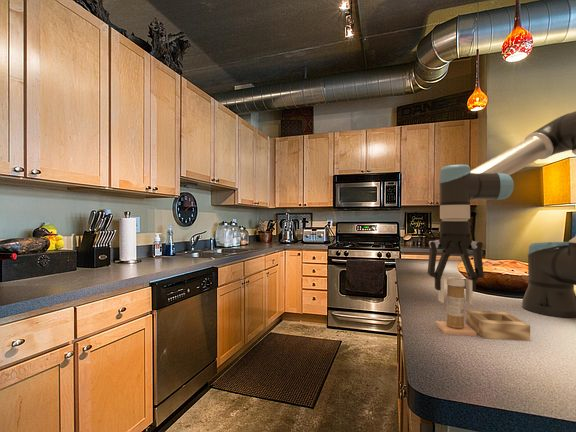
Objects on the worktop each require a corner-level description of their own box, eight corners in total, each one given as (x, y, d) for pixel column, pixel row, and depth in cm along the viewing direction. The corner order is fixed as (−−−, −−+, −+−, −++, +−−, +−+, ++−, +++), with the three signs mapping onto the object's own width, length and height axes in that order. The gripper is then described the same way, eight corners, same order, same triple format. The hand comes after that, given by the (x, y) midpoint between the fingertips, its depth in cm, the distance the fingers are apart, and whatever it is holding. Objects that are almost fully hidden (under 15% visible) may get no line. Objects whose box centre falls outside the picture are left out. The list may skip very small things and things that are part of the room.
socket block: (507, 325, 89) (507, 312, 89) (530, 340, 79) (530, 325, 79) (466, 323, 91) (466, 310, 91) (483, 338, 80) (483, 322, 80)
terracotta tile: (464, 325, 90) (464, 322, 90) (476, 335, 82) (476, 332, 82) (435, 323, 91) (435, 321, 91) (444, 333, 83) (444, 331, 83)
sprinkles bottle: (454, 323, 90) (455, 276, 90) (468, 328, 85) (469, 279, 86) (442, 324, 88) (443, 277, 88) (455, 329, 84) (456, 280, 84)
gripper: (486, 220, 89) (486, 299, 89) (414, 220, 92) (415, 297, 92) (499, 220, 81) (499, 307, 81) (421, 220, 85) (421, 304, 85)
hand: (454, 301), depth 87 cm, fingers open, 7 cm apart
